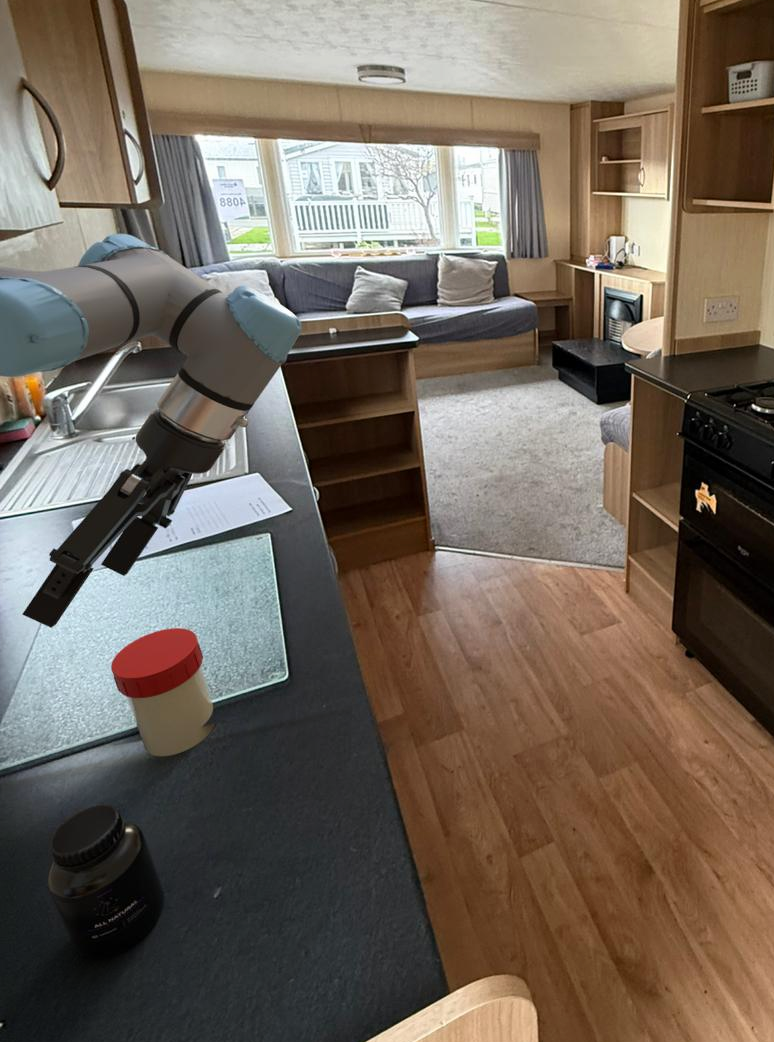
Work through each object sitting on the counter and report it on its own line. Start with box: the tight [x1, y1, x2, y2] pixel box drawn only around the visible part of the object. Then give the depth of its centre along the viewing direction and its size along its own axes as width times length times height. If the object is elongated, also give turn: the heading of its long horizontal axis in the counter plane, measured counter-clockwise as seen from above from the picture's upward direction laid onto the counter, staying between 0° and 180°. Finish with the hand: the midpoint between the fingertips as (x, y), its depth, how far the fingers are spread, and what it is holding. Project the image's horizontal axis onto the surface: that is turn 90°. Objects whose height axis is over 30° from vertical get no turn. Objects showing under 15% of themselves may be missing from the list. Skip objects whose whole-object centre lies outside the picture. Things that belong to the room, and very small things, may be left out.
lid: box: [110, 627, 204, 698], centre depth 75 cm, size 8×8×3 cm
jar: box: [125, 665, 216, 757], centre depth 77 cm, size 8×8×12 cm
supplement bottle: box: [46, 803, 165, 960], centre depth 57 cm, size 7×7×12 cm
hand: (80, 592), depth 68 cm, fingers open, 13 cm apart
